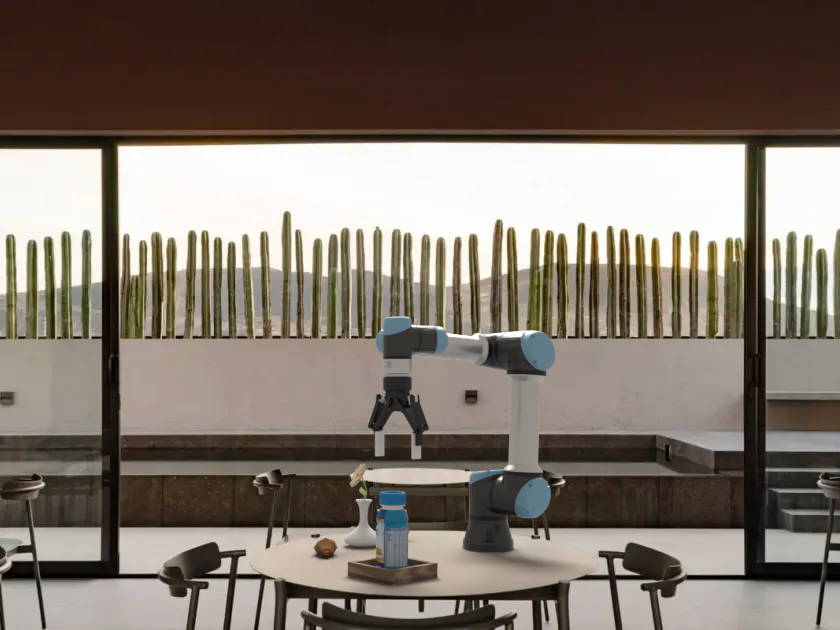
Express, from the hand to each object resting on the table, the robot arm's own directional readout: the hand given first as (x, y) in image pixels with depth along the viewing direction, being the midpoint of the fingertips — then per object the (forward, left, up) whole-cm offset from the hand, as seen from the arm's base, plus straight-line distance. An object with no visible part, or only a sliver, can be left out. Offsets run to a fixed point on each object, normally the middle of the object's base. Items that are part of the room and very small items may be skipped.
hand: (397, 457), depth 252 cm
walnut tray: (+5, +4, -29) cm, 30 cm away
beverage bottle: (+5, +3, -29) cm, 29 cm away
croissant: (-3, -33, -30) cm, 44 cm away
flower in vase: (-20, -36, -30) cm, 51 cm away
